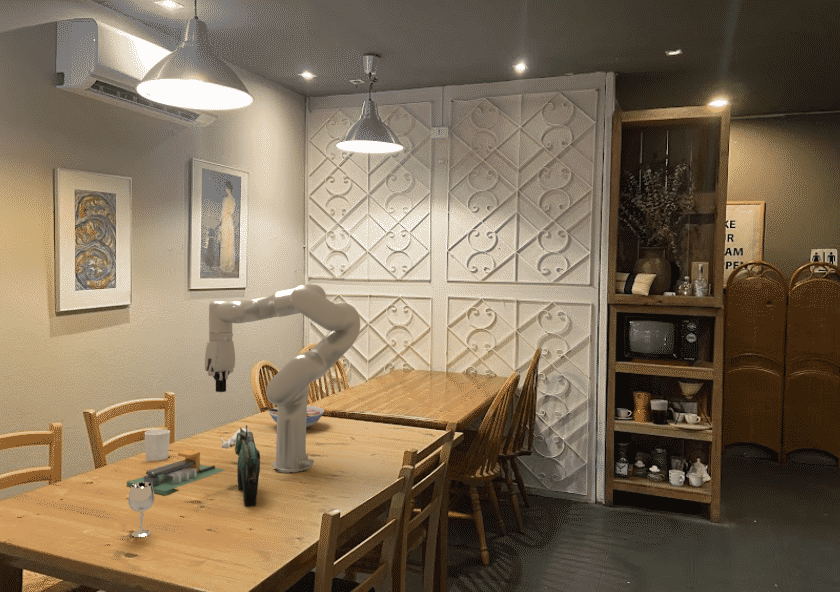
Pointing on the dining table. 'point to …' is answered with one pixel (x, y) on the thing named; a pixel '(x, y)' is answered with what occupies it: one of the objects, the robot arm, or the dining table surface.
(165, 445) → the white cup
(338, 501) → the dining table surface
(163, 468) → the dark grey flat bar
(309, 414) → the ramen bowl
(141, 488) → the wineglass
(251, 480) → the dark green sculpted piece
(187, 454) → the catch
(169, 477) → the heat sink
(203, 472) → the circuit board
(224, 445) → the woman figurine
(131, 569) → the dining table surface
